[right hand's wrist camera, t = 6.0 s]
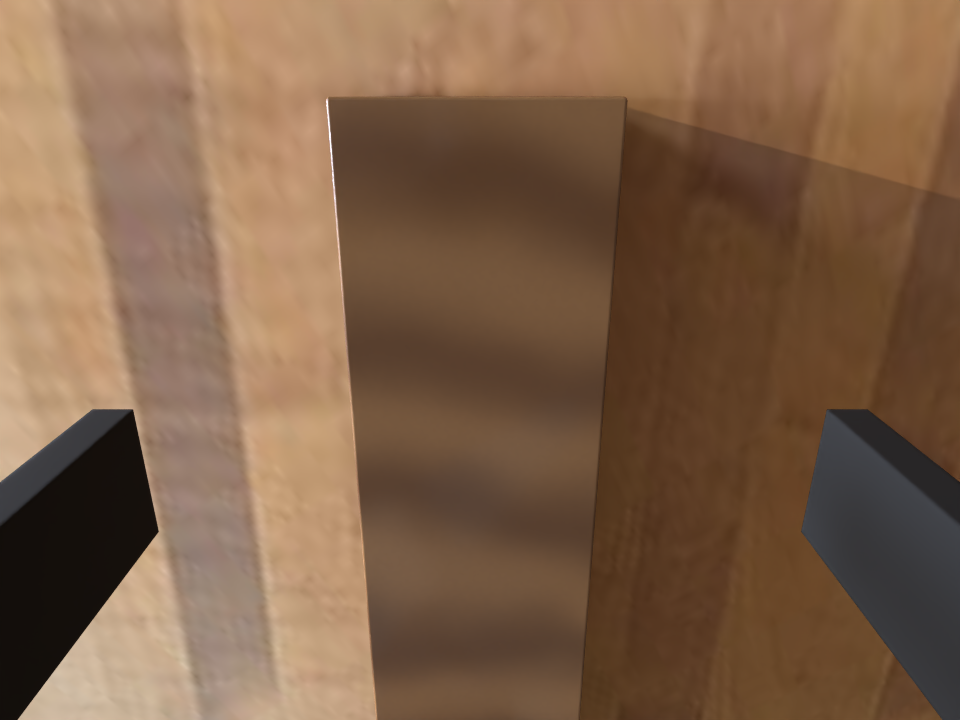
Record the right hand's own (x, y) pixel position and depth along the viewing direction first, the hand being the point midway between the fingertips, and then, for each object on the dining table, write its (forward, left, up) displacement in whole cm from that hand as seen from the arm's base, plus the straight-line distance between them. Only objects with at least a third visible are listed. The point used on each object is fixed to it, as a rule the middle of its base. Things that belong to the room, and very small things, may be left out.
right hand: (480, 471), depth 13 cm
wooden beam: (+8, -25, -17) cm, 31 cm away
